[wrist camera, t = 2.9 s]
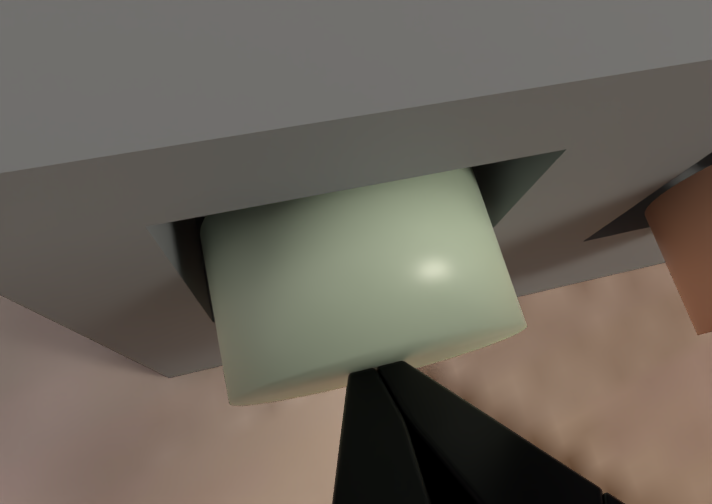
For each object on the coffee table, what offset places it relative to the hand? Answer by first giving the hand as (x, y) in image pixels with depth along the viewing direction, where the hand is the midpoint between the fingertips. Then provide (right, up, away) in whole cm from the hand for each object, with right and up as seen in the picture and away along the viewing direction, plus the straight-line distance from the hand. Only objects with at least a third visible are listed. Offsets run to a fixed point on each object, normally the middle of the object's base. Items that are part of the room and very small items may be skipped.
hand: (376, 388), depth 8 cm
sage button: (0, +1, +2) cm, 3 cm away
